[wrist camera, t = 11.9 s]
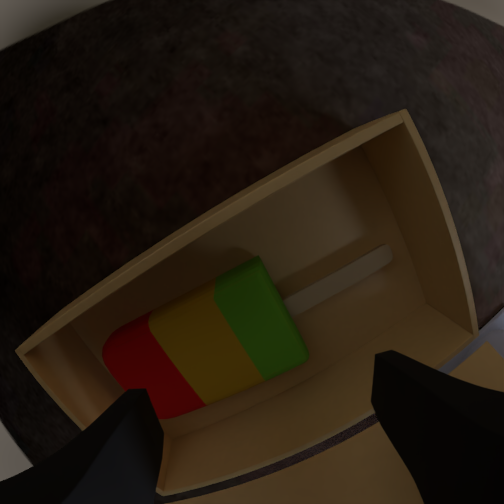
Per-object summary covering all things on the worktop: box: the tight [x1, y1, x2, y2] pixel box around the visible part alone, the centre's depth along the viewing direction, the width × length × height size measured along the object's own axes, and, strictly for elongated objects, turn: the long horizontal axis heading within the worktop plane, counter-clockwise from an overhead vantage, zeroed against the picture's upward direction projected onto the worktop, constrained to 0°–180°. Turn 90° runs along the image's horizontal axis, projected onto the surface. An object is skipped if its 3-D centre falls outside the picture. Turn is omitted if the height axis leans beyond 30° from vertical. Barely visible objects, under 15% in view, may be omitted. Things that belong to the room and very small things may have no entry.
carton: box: [15, 109, 479, 496], centre depth 13 cm, size 11×18×5 cm, turn 120°
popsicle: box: [102, 244, 393, 419], centre depth 14 cm, size 6×15×2 cm, turn 117°
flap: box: [166, 341, 504, 504], centre depth 9 cm, size 5×18×1 cm
